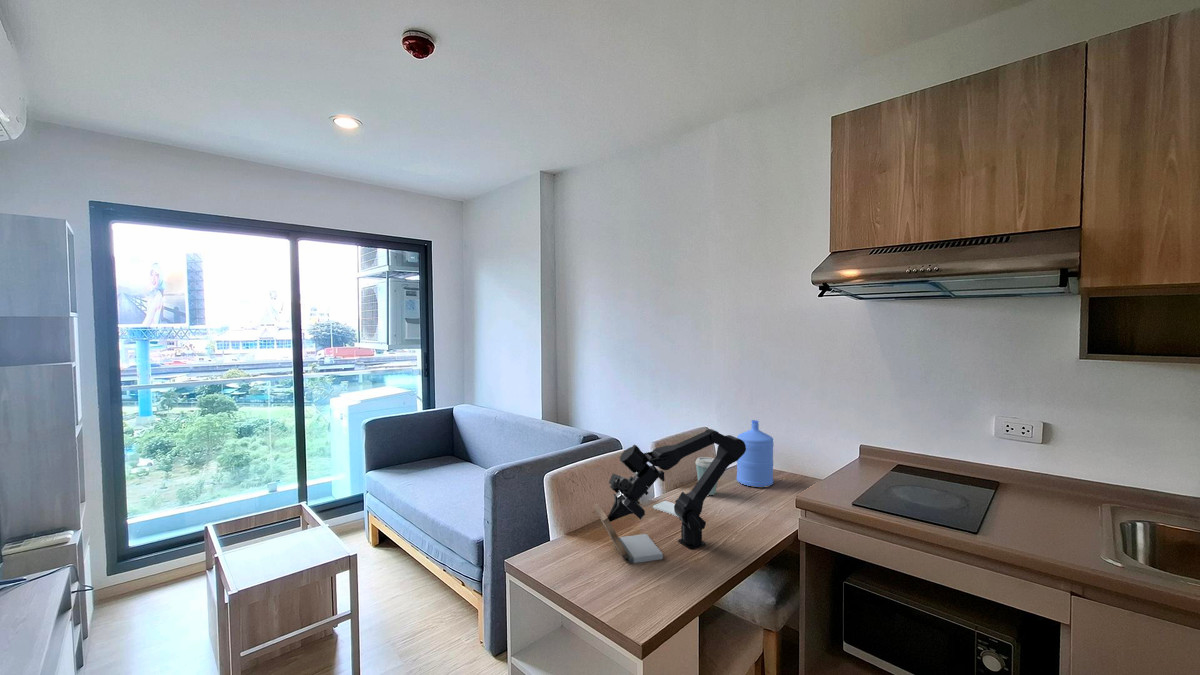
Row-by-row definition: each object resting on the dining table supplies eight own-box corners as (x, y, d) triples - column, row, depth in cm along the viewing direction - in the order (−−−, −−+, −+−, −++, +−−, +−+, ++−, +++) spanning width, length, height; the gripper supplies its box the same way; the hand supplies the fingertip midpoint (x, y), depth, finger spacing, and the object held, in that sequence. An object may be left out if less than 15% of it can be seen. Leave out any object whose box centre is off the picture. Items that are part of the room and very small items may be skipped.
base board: (646, 538, 153) (646, 533, 153) (662, 559, 140) (662, 553, 140) (616, 542, 150) (616, 537, 150) (630, 563, 137) (630, 558, 137)
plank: (612, 541, 149) (616, 538, 149) (624, 559, 137) (628, 556, 138) (593, 505, 147) (597, 502, 148) (602, 520, 136) (607, 517, 136)
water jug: (768, 491, 198) (768, 425, 197) (732, 484, 206) (732, 422, 206) (776, 481, 211) (777, 419, 210) (742, 475, 219) (742, 416, 219)
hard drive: (652, 505, 179) (679, 514, 170) (665, 500, 185) (691, 508, 176) (652, 509, 179) (679, 519, 170) (665, 504, 185) (691, 512, 176)
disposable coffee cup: (701, 487, 202) (701, 453, 202) (725, 492, 196) (725, 457, 195) (690, 494, 193) (691, 459, 193) (715, 500, 187) (715, 463, 187)
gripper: (616, 457, 152) (583, 493, 150) (634, 474, 134) (598, 516, 132) (638, 478, 155) (606, 515, 152) (659, 498, 136) (624, 540, 134)
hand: (608, 520), depth 142 cm, fingers closed, pressing on plank
